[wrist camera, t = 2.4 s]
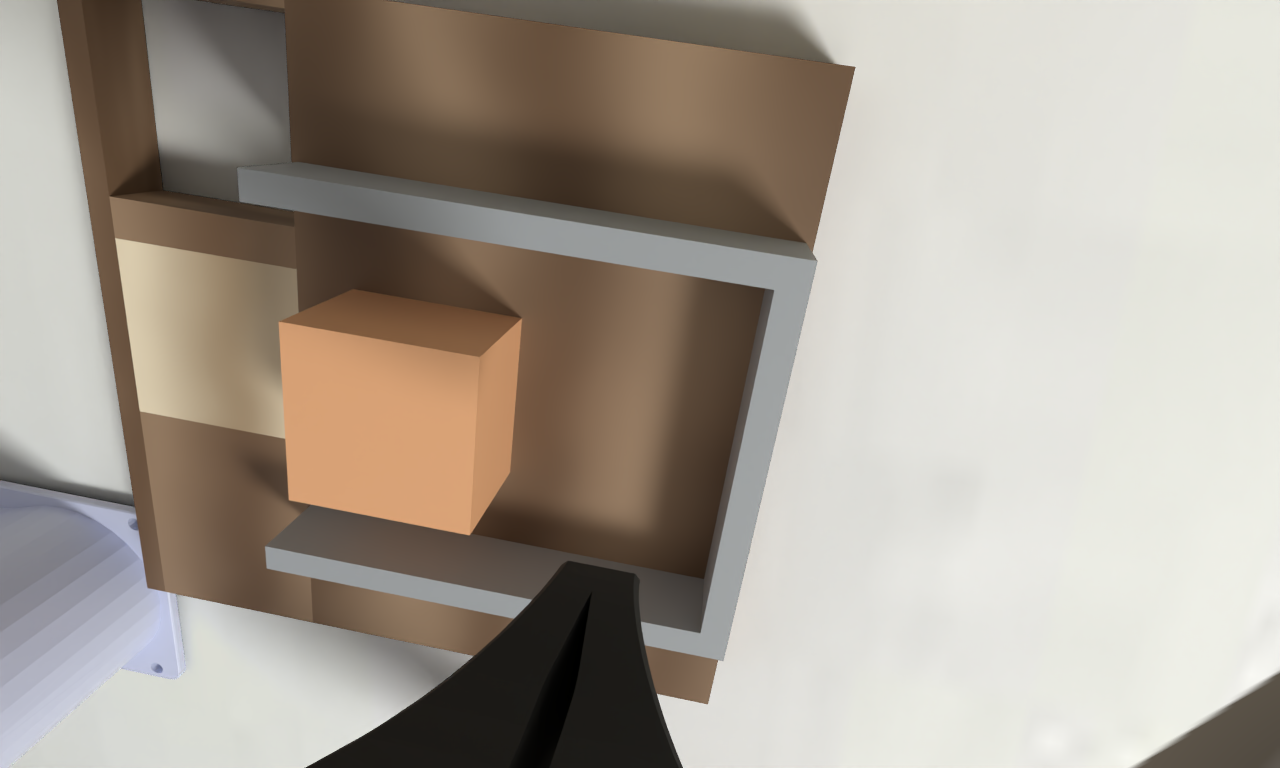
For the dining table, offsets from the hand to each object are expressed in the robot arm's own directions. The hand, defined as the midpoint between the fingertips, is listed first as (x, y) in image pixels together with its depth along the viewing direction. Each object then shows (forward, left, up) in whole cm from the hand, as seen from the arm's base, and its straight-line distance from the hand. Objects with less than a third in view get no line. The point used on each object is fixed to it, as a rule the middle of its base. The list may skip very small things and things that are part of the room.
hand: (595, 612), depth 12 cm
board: (-7, 0, -10) cm, 12 cm away
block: (-7, 0, -8) cm, 11 cm away
